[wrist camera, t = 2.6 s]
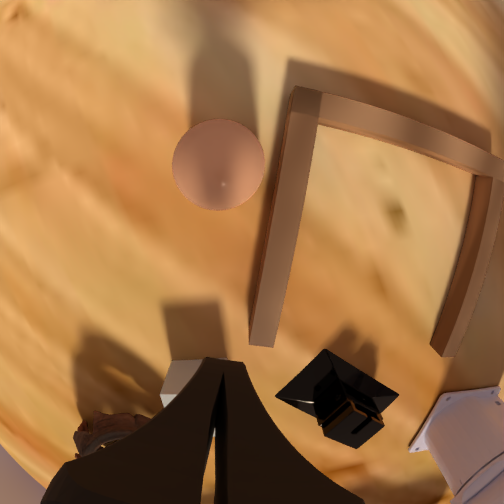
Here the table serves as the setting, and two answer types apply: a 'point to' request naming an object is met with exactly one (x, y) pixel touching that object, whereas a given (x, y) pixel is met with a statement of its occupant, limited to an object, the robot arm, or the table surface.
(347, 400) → the black boxy piece
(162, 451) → the robot arm
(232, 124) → the pinkish-brown rounded block
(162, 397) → the light gray block
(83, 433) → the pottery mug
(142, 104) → the table surface
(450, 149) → the bay
